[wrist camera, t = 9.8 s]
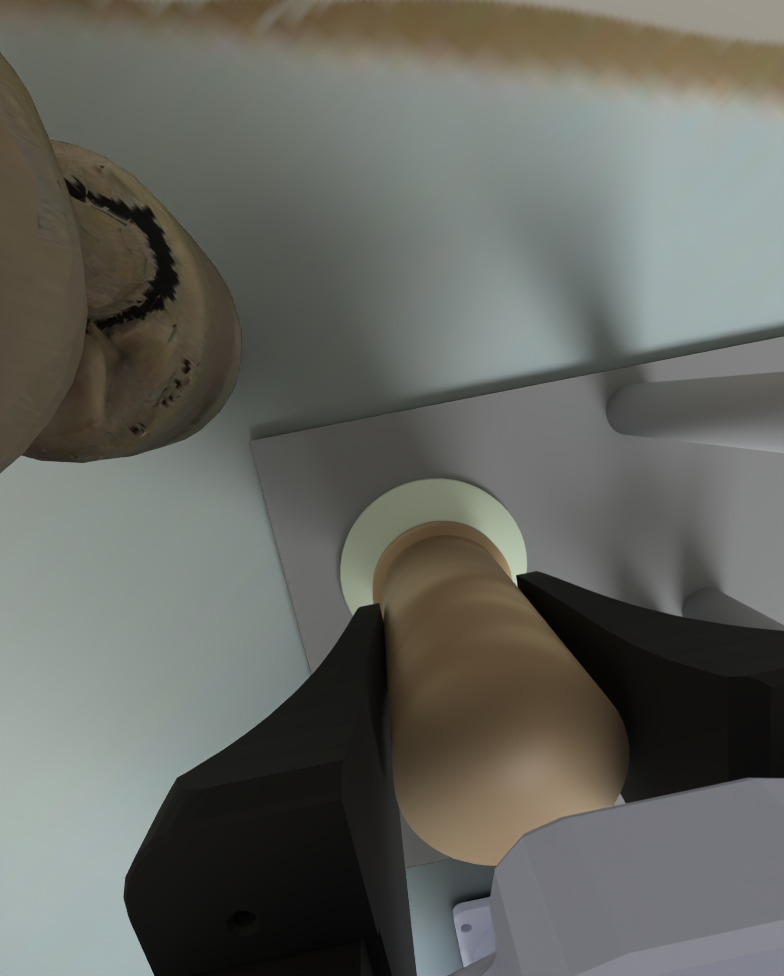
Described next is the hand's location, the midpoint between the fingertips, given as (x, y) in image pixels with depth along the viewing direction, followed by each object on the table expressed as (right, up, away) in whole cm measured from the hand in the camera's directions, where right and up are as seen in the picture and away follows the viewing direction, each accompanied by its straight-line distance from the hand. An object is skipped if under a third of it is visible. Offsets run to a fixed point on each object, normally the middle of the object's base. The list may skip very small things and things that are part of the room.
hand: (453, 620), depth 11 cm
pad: (0, +1, +4) cm, 4 cm away
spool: (0, 0, +2) cm, 2 cm away
